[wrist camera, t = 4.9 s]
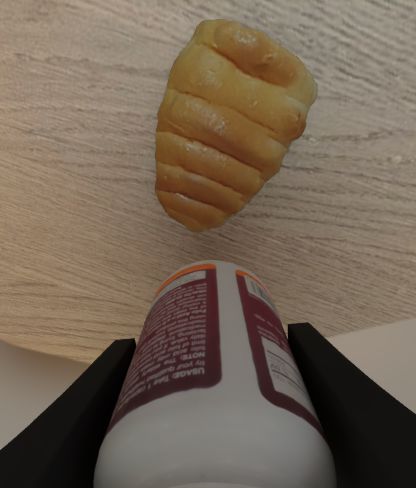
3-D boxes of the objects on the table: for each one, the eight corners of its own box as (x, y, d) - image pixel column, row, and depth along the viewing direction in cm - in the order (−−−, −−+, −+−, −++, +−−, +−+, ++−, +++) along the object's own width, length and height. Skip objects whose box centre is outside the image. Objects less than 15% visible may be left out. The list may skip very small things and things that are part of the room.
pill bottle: (148, 353, 12) (26, 767, 4) (157, 248, 10) (-20, 608, 2) (260, 367, 12) (347, 789, 4) (287, 266, 10) (511, 654, 3)
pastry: (235, 240, 18) (240, 267, 14) (131, 194, 17) (108, 210, 13) (318, 82, 14) (352, 64, 11) (196, 16, 14) (189, -27, 10)
